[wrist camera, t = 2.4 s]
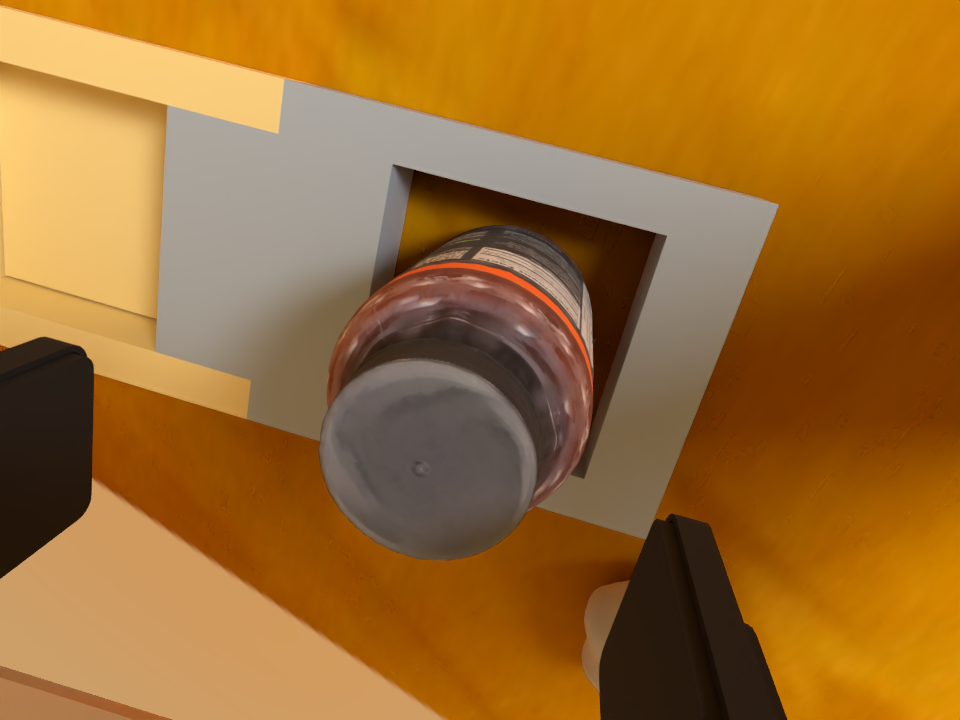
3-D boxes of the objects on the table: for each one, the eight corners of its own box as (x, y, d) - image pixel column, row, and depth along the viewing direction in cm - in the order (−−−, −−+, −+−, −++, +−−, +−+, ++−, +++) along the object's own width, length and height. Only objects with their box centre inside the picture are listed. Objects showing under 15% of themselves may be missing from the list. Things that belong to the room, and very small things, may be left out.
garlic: (556, 632, 26) (548, 748, 21) (605, 527, 24) (608, 627, 19) (699, 686, 25) (724, 816, 21) (760, 584, 23) (804, 701, 19)
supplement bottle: (502, 422, 23) (424, 662, 12) (385, 303, 22) (197, 451, 12) (631, 315, 21) (667, 494, 10) (507, 181, 20) (411, 227, 10)
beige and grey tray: (756, 196, 19) (779, 204, 17) (640, 499, 23) (645, 539, 21) (-71, -14, 21) (-152, -32, 19) (-48, 294, 25) (-113, 310, 23)
